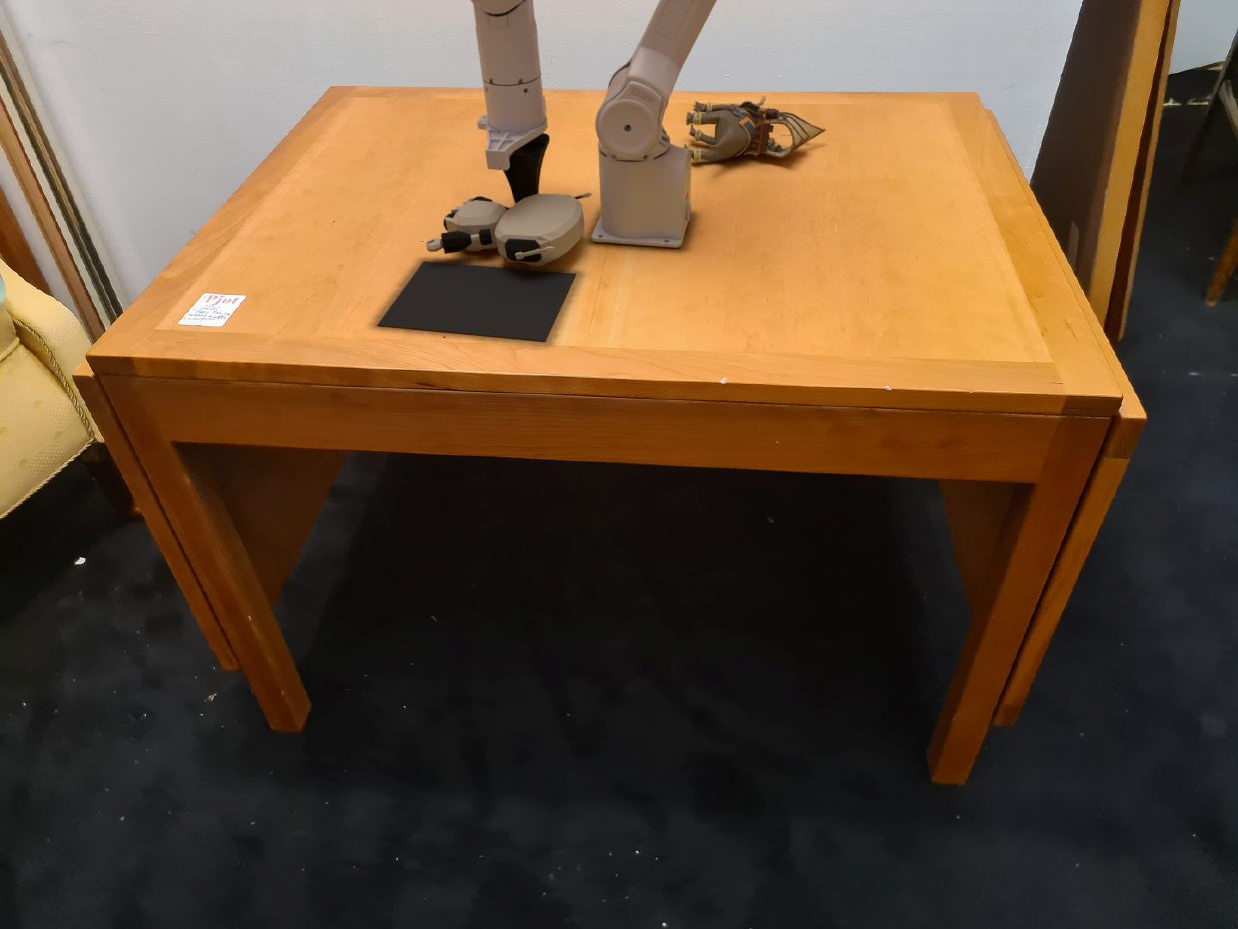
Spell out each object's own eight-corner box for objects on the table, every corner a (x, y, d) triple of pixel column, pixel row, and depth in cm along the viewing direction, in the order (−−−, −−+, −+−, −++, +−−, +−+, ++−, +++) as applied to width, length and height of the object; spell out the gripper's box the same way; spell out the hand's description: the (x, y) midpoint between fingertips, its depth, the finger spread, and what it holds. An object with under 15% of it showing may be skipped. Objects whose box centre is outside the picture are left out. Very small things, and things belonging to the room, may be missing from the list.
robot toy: (425, 276, 88) (563, 284, 84) (414, 234, 85) (557, 241, 81) (473, 221, 97) (600, 227, 93) (464, 182, 94) (596, 186, 90)
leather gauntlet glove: (696, 77, 112) (828, 83, 110) (693, 125, 116) (821, 132, 114) (680, 126, 97) (833, 134, 95) (677, 179, 101) (825, 188, 99)
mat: (576, 274, 86) (576, 273, 86) (545, 341, 77) (545, 340, 77) (423, 261, 89) (423, 260, 89) (377, 325, 80) (377, 324, 80)
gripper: (494, 49, 90) (510, 174, 99) (447, 101, 80) (469, 236, 89) (560, 51, 89) (570, 178, 98) (520, 104, 78) (535, 241, 88)
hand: (526, 206), depth 93 cm, fingers closed, pressing on robot toy
